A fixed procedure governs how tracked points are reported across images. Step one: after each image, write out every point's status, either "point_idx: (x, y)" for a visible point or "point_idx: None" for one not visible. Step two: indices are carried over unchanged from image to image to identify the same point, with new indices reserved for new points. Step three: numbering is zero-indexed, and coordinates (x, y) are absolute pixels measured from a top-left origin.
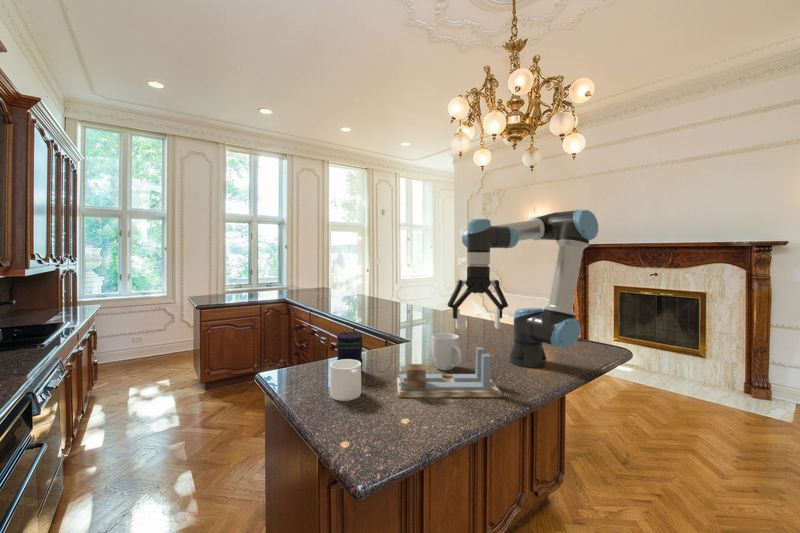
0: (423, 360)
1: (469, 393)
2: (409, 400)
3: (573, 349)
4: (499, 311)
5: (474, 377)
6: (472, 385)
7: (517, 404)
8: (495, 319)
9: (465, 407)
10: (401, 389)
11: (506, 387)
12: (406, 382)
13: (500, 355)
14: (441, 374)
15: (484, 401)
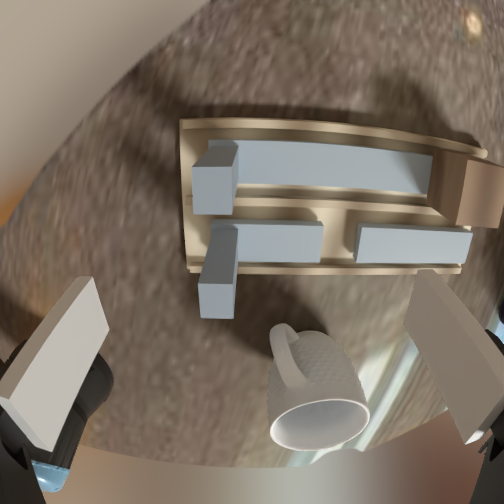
0: None
1: (294, 120)
2: (461, 123)
3: None
4: (3, 378)
5: (248, 228)
6: (276, 153)
7: (151, 68)
8: (79, 358)
9: (324, 49)
10: None
11: (147, 196)
12: None
13: (132, 408)
14: (357, 258)
15: (251, 85)
